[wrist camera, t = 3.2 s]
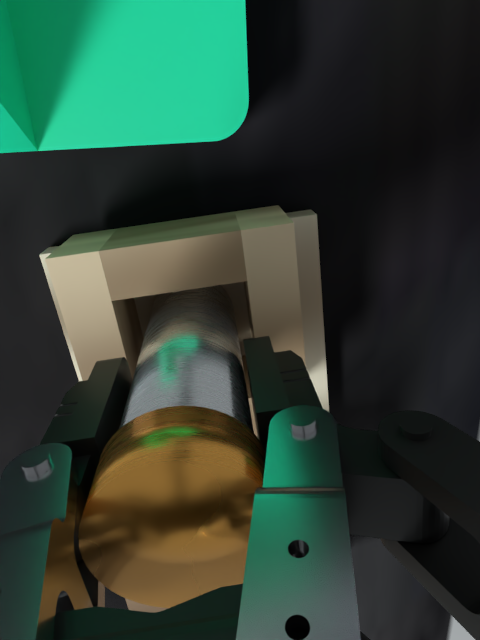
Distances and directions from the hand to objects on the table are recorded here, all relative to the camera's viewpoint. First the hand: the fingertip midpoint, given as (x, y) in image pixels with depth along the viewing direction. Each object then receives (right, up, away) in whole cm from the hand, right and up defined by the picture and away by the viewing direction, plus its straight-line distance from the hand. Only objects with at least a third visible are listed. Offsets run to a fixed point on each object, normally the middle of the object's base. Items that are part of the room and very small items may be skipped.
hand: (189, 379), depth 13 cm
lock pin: (0, +2, +4) cm, 5 cm away
